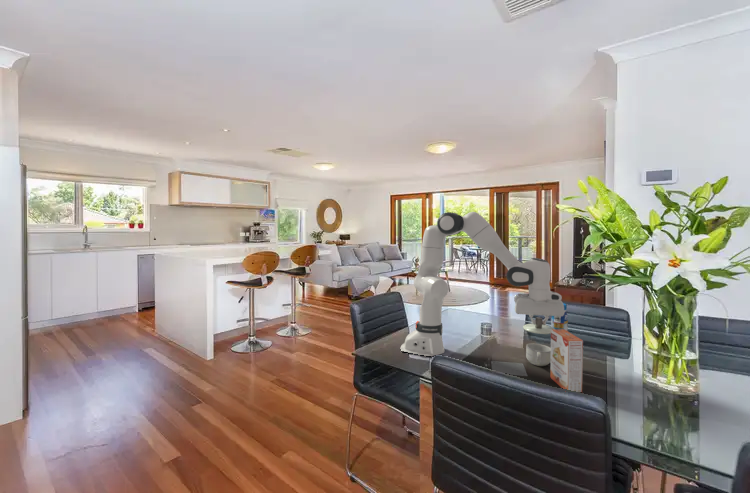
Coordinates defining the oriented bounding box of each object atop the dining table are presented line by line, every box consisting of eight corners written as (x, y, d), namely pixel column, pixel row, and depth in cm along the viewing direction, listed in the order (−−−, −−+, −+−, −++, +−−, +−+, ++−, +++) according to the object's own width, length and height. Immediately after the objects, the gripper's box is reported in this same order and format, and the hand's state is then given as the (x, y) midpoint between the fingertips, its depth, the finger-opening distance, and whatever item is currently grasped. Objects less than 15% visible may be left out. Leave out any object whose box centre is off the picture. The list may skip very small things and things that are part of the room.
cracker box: (549, 378, 146) (550, 328, 145) (563, 378, 146) (564, 328, 145) (566, 394, 132) (567, 339, 131) (582, 394, 132) (584, 339, 131)
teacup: (528, 357, 169) (529, 341, 168) (553, 362, 162) (554, 345, 162) (521, 367, 157) (522, 349, 157) (548, 373, 151) (548, 354, 151)
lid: (525, 332, 154) (525, 321, 154) (521, 324, 167) (521, 313, 167) (557, 334, 151) (558, 323, 151) (551, 326, 164) (551, 315, 163)
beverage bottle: (547, 337, 198) (547, 302, 197) (561, 336, 199) (562, 301, 198) (556, 342, 190) (557, 305, 189) (571, 341, 191) (572, 305, 190)
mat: (492, 373, 151) (492, 372, 151) (490, 361, 164) (490, 360, 164) (527, 377, 147) (527, 376, 147) (523, 364, 161) (523, 363, 161)
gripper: (515, 294, 158) (514, 325, 159) (565, 296, 152) (565, 327, 153) (513, 292, 164) (513, 321, 165) (562, 293, 158) (561, 324, 159)
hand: (538, 324), depth 159 cm, fingers closed on lid, 3 cm apart
